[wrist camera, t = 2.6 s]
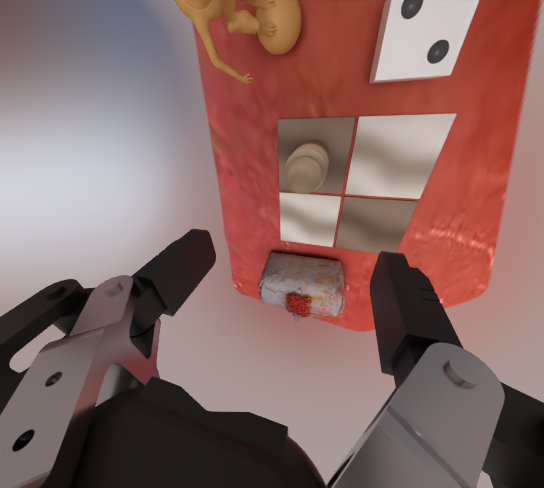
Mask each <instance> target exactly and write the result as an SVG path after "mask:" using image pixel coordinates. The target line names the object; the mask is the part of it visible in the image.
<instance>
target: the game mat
mask: <svg viewBox="0 0 544 488" xmlns="http://www.w3.org/2000/svg"><path fill="white" fill-rule="evenodd" d="M456 115H457V113H450V114H420V115H391V116H361V117H359V121H358V126H357V132H356V137H355V142H354V148H353V153H352V158H351V164H350V169H349V174H348V180H347V185H346V190H345V194H352V195H368V196H384V197H400V198H415V199H420V197H421V194H422V192H423V190H424V188H425V185H426V183H427V181H428V178H429V176H430V174H431V172H432V169H433V167H434V165H435V162H436V160H437V158H438V156H439V153H440V151H441V149H442V146H443V144H444V142H445V140H446V137H447V135H448V133H449V130H450V128H451V126H452V124H453V121H454V119H455V117H456ZM354 122H355V117H332V118H302V119H278V154H279V190H289V191H292V190H291V189H290V188H289V187H288V185H287V183H286V180H285V174H284V169H285V164H286V162H287V160H288V158H289V157H290V156H291V155H292V154H293V152H294V151H295V150H296V149H297V148H298V147H299V146H300V145H301V144H302V143H303V142H305V141H307V140H310V139H316V140H319V141H321V142H323V143H324V144H325V145H326V146H327V148H328V150H329V153H330V161H329V165H328V170H327V174H326V178H325V180H324V182H323V184H322V185H321V186H320V187H319V188H318V189H316V190H314V191H312V192H321V193H336V194H342V190H343V184H344V178H345V173H346V167H347V161H348V156H349V150H350V145H351V139H352V133H353V128H354ZM340 201H341V196H333V195H317V194H297V193H287V192H280V228H281V240H283V241H291V242H299V243H306V244H314V245H321V246H329V247H332V246H333V241H334V235H335V229H336V224H337V218H338V212H339V207H340ZM417 203H418V201H408V200H393V199H378V198H363V197H348V196H344V201H343V207H342V212H341V217H340V223H339V228H338V233H337V239H336V244H335V247H336V248H344V249H351V250H359V251H367V252H374V253H380V252H381V251H387V252H396V251H397V249H398V247H399V245H400V242H401V240H402V238H403V235H404V233H405V231H406V229H407V226H408V224H409V222H410V219H411V217H412V215H413V213H414V210H415V208H416V206H417Z"/></svg>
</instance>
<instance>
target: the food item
mask: <svg viewBox="0 0 544 488" xmlns="http://www.w3.org/2000/svg"><path fill="white" fill-rule="evenodd" d="M258 286H259V291H260V292H259V294H260V300H261V302H262V303H267V304H272V305H275V306H280V307H284V308H286V309H287V310H288V311H289V312H292V314H293V316H294V319H295V321H298V320H299V319H300V318H302V317H308V316H309V315H312V316H329V317H335V316H336V315H337V313H341V312H342V311H343V309H344V305H345V303H344V300H345V295H344V277H343V268H342V265H341V262H340V261H339V260H329V259H321V258H313V257H305V256H298V255H292V254H283V253H275V252H270V256H269V258H268V259H267V262H266V264H265V268H264V269H263V272H262V277H261V279H260V281H259V283H258Z"/></svg>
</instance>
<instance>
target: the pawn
mask: <svg viewBox="0 0 544 488" xmlns="http://www.w3.org/2000/svg"><path fill="white" fill-rule="evenodd" d="M329 161H330V153H329V150H328V148H327V146H326V145H325V144H324V143H323V142H321V141H319V140H316V139H310V140H307V141H305V142H303V143H302V144H301V145H300V146H299V147H298V148H297V149H296V150H295V151H294V152H293V154H292V155H291V156H290V157H289V158H288V160H287V162H286V164H285V169H284V174H285V180H286V183H287V185H288V187H289V188H290V189H291V190H292V191H293V192H295V193H297V194H308V193H310V192H312V191H314V190H316V189H318V188H319V187H320V186H321V185H322V184H323V182H324V180H325V178H326V174H327V170H328V165H329Z"/></svg>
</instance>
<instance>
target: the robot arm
mask: <svg viewBox="0 0 544 488" xmlns="http://www.w3.org/2000/svg"><path fill="white" fill-rule="evenodd" d="M215 261H216V253H215V250H214V246H213V243H212V239H211V236H210V233H209V232H208V231H207V230H199V229H191V230H190V231H189V232H188V233H187V234H185V235H184V236H183V237H182V238H180V239H178V240H176V241H174V242H173V243H171V244H170V245H169V246H168V247H167V248H165V250H163V251H162V252H160V253H159V255H157V256H156V257H154V258H153V259H152V260H151V261H149V262H148V263H147V264H146V265H145V266H143V267H142V268H141V269H140V270H138V271H137V272H136V273H135V274H134V275H132V276H127V275H122V276H117V277H113V278H111V279H109V280H107V281H105V282H103V283H102V284H100V285H99V286H97V287H96V288H86V289H84V288H83V287H82V286H81V285H80V284H79V282H78V281H76V280H74V279H68V280H63V281H60V282H57V283H54V284H52V285H50V286H48V287H46V288H44V289H43V290H41V291H39V292H38V293H36V294H35V295H33V296H32V297H31V298H29V299H27V300H26V301H24V302H23V303H21V304H19V305H18V306H16V307H15V308H14V309H12V310H10V311H9V312H7V313H6V314H4V315H3V316H1V317H0V488H476V486H477V482H478V478H479V476H480V473H481V470H482V471H484V472H485V473H487V474H488V475H489V476H490V479H491V481H492V485H493V487H494V488H544V403H543V402H541V401H539V400H537V399H534V398H532V397H530V396H528V395H526V394H524V393H522V392H520V391H518V390H515V389H513V388H511V387H509V386H507V385H506V384H504V383H501V382H500V381H499V380H498V378H497V377H496V375H495V374H494V373H493V371H492V370H491V369H490V368H489V367H488V366H487V365H486V364H485V363H484V362H482V361H481V360H480V359H479V358H478V357H476V356H475V355H473V354H472V353H470V352H468V351H467V350H465V349H464V348H463V346H462V345H461V343H460V341H459V339H458V336H457V335H456V332H455V330H454V328H453V326H452V324H451V323H450V320H449V318H448V316H447V314H446V312H445V310H444V308H443V306H442V304H441V303H440V300H439V298H438V296H437V294H436V293H435V292H434V291H435V290H434V288H433V286H432V284H431V282H430V280H429V278H428V277H426V276H425V275H424V274H423V273H422V272H421V271H420V270H419V269H418V268H412V267H409V265H408V262H407V260H406V257H405V255H404V254H403V253H396V252H387V251H381V252H380V254H379V256H378V259H377V262H376V265H375V268H374V271H373V274H372V277H371V281H370V296H371V303H372V309H373V316H374V323H375V330H376V336H377V343H378V350H379V357H380V364H381V370H382V373H385V374H389V375H393V376H394V380H395V385H396V388H395V389H394V391H393V392H392V393H391V395H390V396H389V398H388V399H387V401H386V402H385V403H384V405H383V406H382V408H381V409H380V410H379V412H378V413H377V415H376V416H375V418H374V419H373V420H372V422H371V423H370V424H369V426H368V427H367V429H366V430H365V432H364V433H363V434H362V436H361V437H360V438H359V440H358V441H357V442H356V444H355V445H354V447H353V448H352V449H351V450H350V452H349V453H348V455H347V456H346V457H345V459H344V460H343V462H342V463H341V464H340V466H339V467H338V469H337V470H336V471H335V473H334V474H333V476H332V477H331V479H330V480H329V481H328V483H327V484H326V485H325V483H324V481H323V478H322V477H321V475H320V473H319V472H318V470H317V468H316V467H315V465H314V464H313V462H312V461H311V459H310V458H309V457H308V455H307V454H306V453H305V452H304V451H303V450H302V448H301V447H300V446H299V445H298V444H297V443H296V442H295V441H293V440H292V439H291V438H290V437H289V436H288V427H287V426H284V425H282V424H279V423H277V422H274V421H271V420H268V419H266V418H263V417H261V416H258V415H255V414H253V413H250V412H211V411H207V410H205V409H204V408H203V407H202V406H201V405H200V404H199V403H198V402H197V401H196V400H194V399H193V398H192V397H191V396H190V395H189V394H188V393H187V392H186V391H185V390H184V389H183V388H182V387H180V386H178V385H175V384H172V383H170V382H167V381H165V380H162V379H160V377H159V372H158V369H157V363H156V361H157V351H158V343H159V333H160V325H161V321H160V319H159V317H160V316H161V315H162V314H166V315H170V316H174V314H175V313H176V312H177V311H178V309H179V308H180V307H181V306H182V304H183V303H184V302H185V301H186V299H187V298H188V297H189V295H190V294H191V293H192V292H193V291H194V289H195V288H196V287H197V285H198V284H199V283H200V282H201V280H202V279H203V278H204V277H205V275H206V274H207V273H208V272H209V270H210V269H211V268H212V267H213V265H214V263H215ZM52 324H53V325H55V326H56V327H57V328H58V329H60V330H61V331H62V332H63V333H65V334H66V335H65V336H64V337H63V338H62V339H60V340H56V341H53V342H50V343H48V344H47V345H45V346H44V347H43V348H42V349H41V350H40V352H39V353H38V355H37V357H36V358H35V360H34V361H33V363H32V364H31V366H30V367H29V368H28V369H26V370H25V371H23V372H20V373H18V372H16V371H14V370H12V369H11V368H10V366H9V363H10V360H11V358H12V357H13V355H14V354H15V353H17V352H18V351H19V350H20V349H22V348H23V347H24V346H25V345H26V344H28V343H29V342H30V341H32V340H33V339H34V338H35V337H37V336H38V335H39V334H40V333H42V332H43V331H44V330H45V329H47V327H49V326H50V325H52ZM95 405H97V406H96V407H95Z"/></svg>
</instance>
